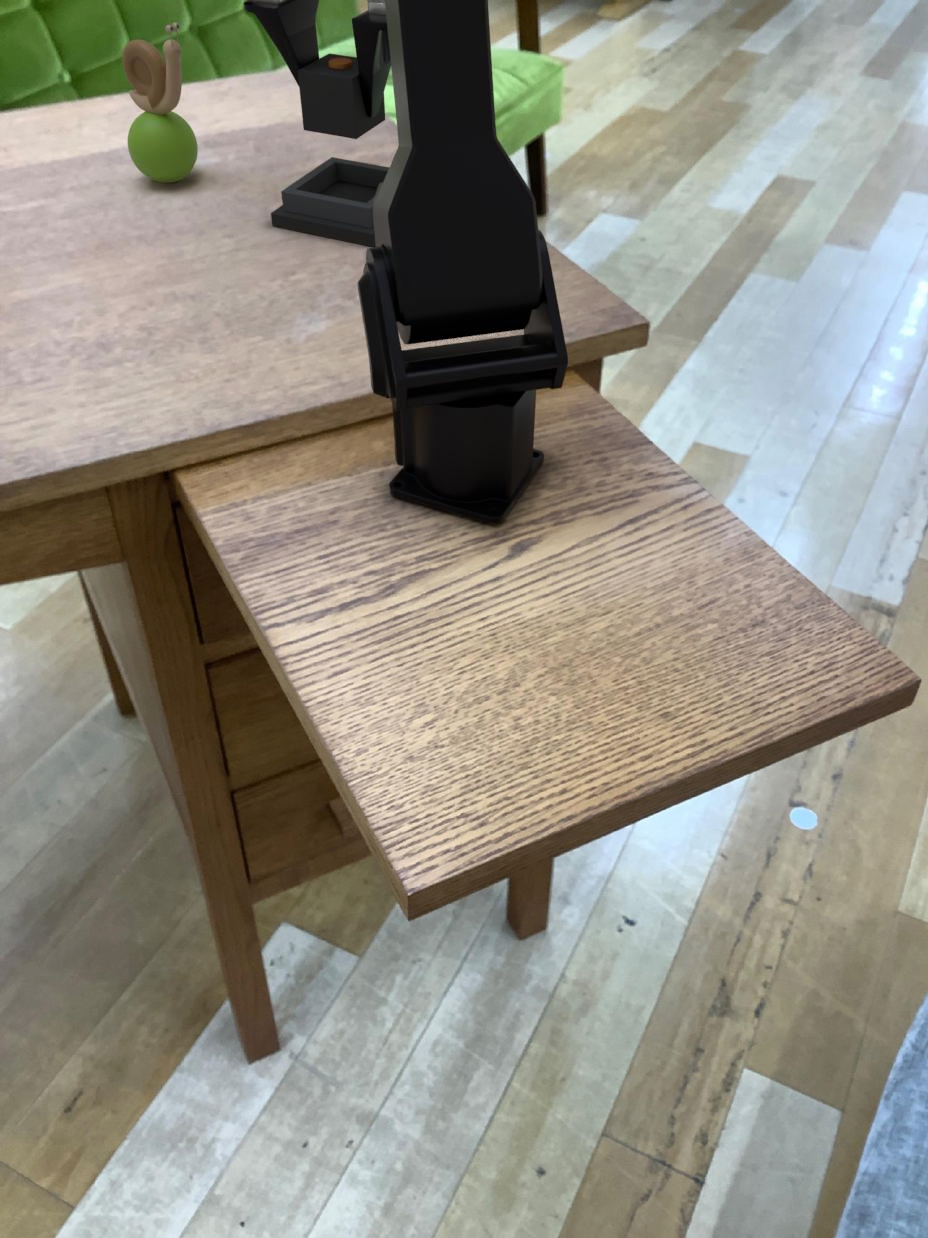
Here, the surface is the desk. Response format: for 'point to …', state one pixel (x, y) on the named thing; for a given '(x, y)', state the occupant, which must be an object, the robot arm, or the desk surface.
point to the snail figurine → (158, 111)
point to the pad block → (335, 98)
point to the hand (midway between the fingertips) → (344, 110)
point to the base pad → (333, 201)
